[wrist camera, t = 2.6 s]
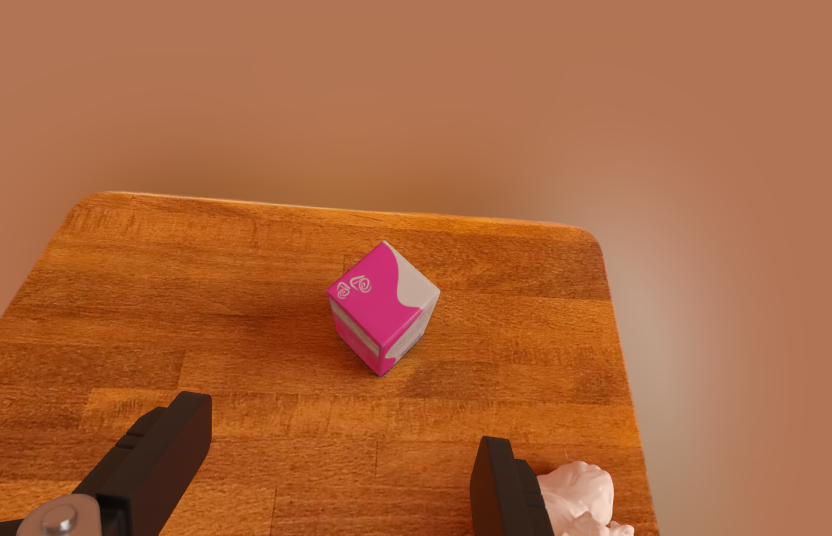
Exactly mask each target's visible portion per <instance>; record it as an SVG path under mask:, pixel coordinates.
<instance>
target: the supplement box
mask: <svg viewBox="0 0 832 536" xmlns="http://www.w3.org/2000/svg"><path fill="white" fill-rule="evenodd" d="M326 292H327V296H328V300H329V303H330V307H331V311H332V314H333V318H334V322H335V326H336V330H337V334H338V335H339V336H340V338H341V339H342V340H343V341H344V342H345V343H346V344H347V345H348V346H349V347H350V348H351V349H352V350H353V351H354V352H355V353H356V354H357V355H358V356H359V357H360V358H361V359H362V360H363V361H364V363H365V364H366V365H367V366H368V367H369V368H370V369H371V370H372V371H373V372H374V373H375V374H376V375H377V376H378V377H382V376H383V375H384V374H385V373H386V372H388V371H389V370H390V369H391V368H392V367H393V366H394V365H395V364H396V363H397V362H398V361H399V360H400V359H401V358H402V357H403V356H404V355H405V354H406V353H407V352H408V351H409V350H410V349H411V348H412V347H413V346H414V345H415V344H416V343H417V341H418V340H419V339H420V338H421V337H422V336H423V335H424V331H425V329H426V326H427V324H428V321H429V319H430V316H431V314H432V312H433V309H434V307H435V304H436V302H437V299H438V297H439V294H440V290H439V289H438V288H437V287H436V286H435V285H434V284H432V283H431V282H430V281H429V280H428V279H427V278H426V277H425V276H424V275H422V274H421V273H420V272H419V271H418V270H417V269H416V268H415V267H413V266H412V265H411V264H410V263H409V262H408V261H407V260H406V259H405V258H403V257H402V256H401V255H400V254H399V253H398V252H397V251H396V250H395V249H394V248H393V247H392V246H391V245H389V244H388V243H387V242H386V241H382V242H381V243H380V244H379V245H378V246H377V247H375V248H374V249H373V250H372V251H371V252H370V253H368V254H367V255H366V256H365V257H364V258H363V259H361V260H360V261H359V262H358V263H357V264H356V265H355V266H353V267H352V268H351V269H350V270H349V271H347V272H346V273H345V274H344V275H343V276H342V277H341V278H339V279H338V280H337V281H336V282H335V283H334V284H333V285H331V286H330V287H329V288H328V289H327V290H326Z"/></svg>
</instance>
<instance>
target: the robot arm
mask: <svg viewBox="0 0 832 536" xmlns="http://www.w3.org/2000/svg"><path fill="white" fill-rule="evenodd" d="M211 437H212V399H211V396H210V395H208V394H201V393H194V392H187V391H182V392H181V393H179V395H178V396H177V397H176V398H175V399H174V400H173V402H172V403H171V404H170V405H169V406H168V408H165V407H156V408H155V409H153V410H151V411H150V412H148V413H146V414H145V415H143V416H142V417H140V418H139V419H138V420H137V421H136V422H135V423H134V424H133V425H132V427H131V428H130V429H129V430H128V431H127V432H126V435H123V437H122V438H121V439H120V440H119V441H118V442H117V443H116V446H115V447H113V448H112V449H111V450H110V451H109V452H108V453H107V454H106V455H105V457H104V458H103V459H102V460H101V461H100V462H99V463H98V464H97V465H96V467H95V468H94V469H93V470H92V471H91V472H90V473H89V474H88V475H87V477H86V478H85V479H84V480H83V481H82V482H81V483H80V484H79V485H78V487H77V488H76V489H75V490H74V491H73V492H72V493H71V494H69V495H64V496H60V497H57V498H54V499H52V500H50V501H48V502H46V503H44V504H42V505H40V506H39V507H37V508H36V509H35V510H33V511H32V512H31V513H30V514H29V515H28V516H27V517H26V518H24V519H19V520H12V521H5V522H0V536H158V535H159V533H160V532H161V530H162V528H163V527H164V525H165V523H166V522H167V520H168V518H169V517H170V515H171V514H172V512H173V510H174V509H175V507H176V505H177V504H178V502H179V500H180V499H181V497H182V496H183V494H184V492H185V491H186V489H187V487H188V486H189V484H190V482H191V481H192V479H193V478H194V476H195V474H196V473H197V471H198V469H199V468H200V466H201V465H202V463H203V461H204V460H205V458H206V456H207V453H208V450H209V447H210V443H211ZM470 502H471V510H472V518H473V526H474V535H475V536H555V535H554V531H553V528H552V525H551V522H550V518H549V515H548V512H547V509H546V508H545V502H544V499H543V495H541V489H540V486H539V482H538V479H537V476H536V474H535V473H534V472H533V470H532V469H531V468H530V466H529V465H528V464H527V462H526V461H525V460H519V459H514V456H513V452H512V448H511V444H510V441H509V440H508V439H503V438H496V437H489V436H483V437H482V439H481V442H480V446H479V449H478V453H477V456H476V460H475V464H474V467H473V471H472V475H471V480H470Z"/></svg>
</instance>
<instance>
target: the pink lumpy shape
mask: <svg viewBox="0 0 832 536" xmlns="http://www.w3.org/2000/svg"><path fill="white" fill-rule="evenodd" d="M537 479H538V482H539V486H540V489H541V495H543V499H544V502H545V508H546V509H547V512H548V515H549V518H550V522H551V525H552V528H553V531H554V535H555V536H633V534H634V528H633V527H632V526H630V525H619V524H618V523H617V522H615V521H611V523H610V524H611V528H607V527H605V526H606V525H607V524H608V523H609V521H610V519H611V517H612V505H613V497H614V489H613V483H612V480H611V477H610V475H609V474H608V473H607V472H606V471H603V470H601V469H600V468H599V467H598V466H596V465H588V464H587V463H585V462H583V461H574V462H573V463H571V464H565V465H562V466H560V467H558V468H557V469H556V470H554V471H553V472H551V473H549V474H547V475H539V476H537Z"/></svg>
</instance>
